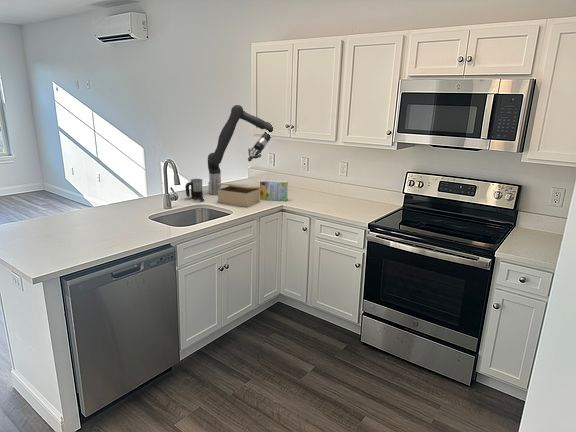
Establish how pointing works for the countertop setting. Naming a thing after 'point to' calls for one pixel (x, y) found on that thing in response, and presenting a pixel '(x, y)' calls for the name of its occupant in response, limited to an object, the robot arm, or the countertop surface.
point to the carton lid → (238, 185)
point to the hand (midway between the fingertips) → (248, 160)
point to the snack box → (273, 190)
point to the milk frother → (195, 189)
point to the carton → (239, 196)
